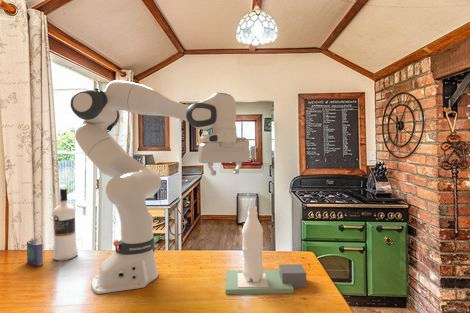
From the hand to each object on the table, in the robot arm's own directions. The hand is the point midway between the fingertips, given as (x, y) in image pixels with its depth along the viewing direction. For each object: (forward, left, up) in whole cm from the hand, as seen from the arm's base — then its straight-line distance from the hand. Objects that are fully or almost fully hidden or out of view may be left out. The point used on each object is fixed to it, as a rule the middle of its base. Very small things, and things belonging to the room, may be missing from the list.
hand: (224, 174), depth 108 cm
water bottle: (+4, -13, -36) cm, 38 cm away
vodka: (-55, +47, -37) cm, 81 cm away
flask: (-66, +45, -37) cm, 88 cm away
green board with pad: (+8, -14, -37) cm, 41 cm away
